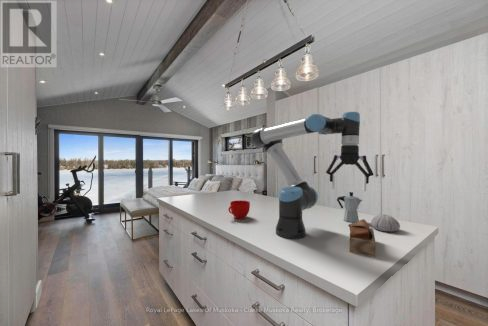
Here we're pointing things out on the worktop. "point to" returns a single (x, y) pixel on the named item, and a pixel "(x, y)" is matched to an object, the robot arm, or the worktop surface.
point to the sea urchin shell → (385, 223)
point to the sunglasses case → (360, 230)
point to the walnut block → (363, 245)
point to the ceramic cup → (239, 209)
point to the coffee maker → (350, 207)
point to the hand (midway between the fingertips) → (348, 189)
